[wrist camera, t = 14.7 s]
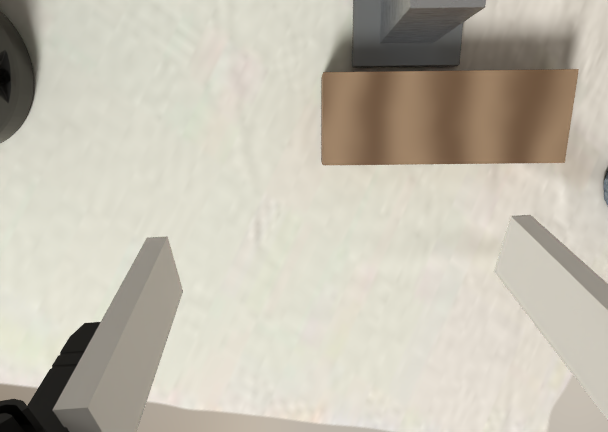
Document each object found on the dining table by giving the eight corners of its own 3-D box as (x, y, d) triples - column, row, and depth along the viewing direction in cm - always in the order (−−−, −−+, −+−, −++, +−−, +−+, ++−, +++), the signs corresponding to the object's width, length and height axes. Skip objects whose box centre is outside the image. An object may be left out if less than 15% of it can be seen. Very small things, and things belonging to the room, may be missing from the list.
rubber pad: (352, 67, 35) (353, 66, 34) (354, -51, 33) (355, -55, 32) (455, 66, 35) (459, 64, 34) (465, -53, 33) (469, -57, 32)
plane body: (321, 161, 37) (323, 165, 33) (321, 78, 35) (323, 72, 32) (537, 159, 37) (564, 162, 33) (548, 76, 35) (578, 69, 31)
